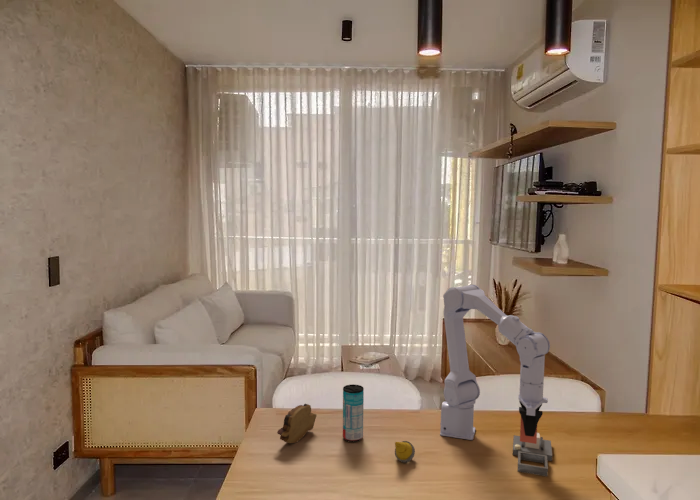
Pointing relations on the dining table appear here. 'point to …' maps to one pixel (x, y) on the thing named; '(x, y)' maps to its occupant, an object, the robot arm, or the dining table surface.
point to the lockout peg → (527, 438)
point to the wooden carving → (297, 423)
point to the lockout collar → (531, 468)
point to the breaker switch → (533, 445)
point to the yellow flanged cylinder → (404, 451)
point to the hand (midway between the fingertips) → (529, 431)
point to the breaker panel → (543, 448)
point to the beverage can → (353, 412)
